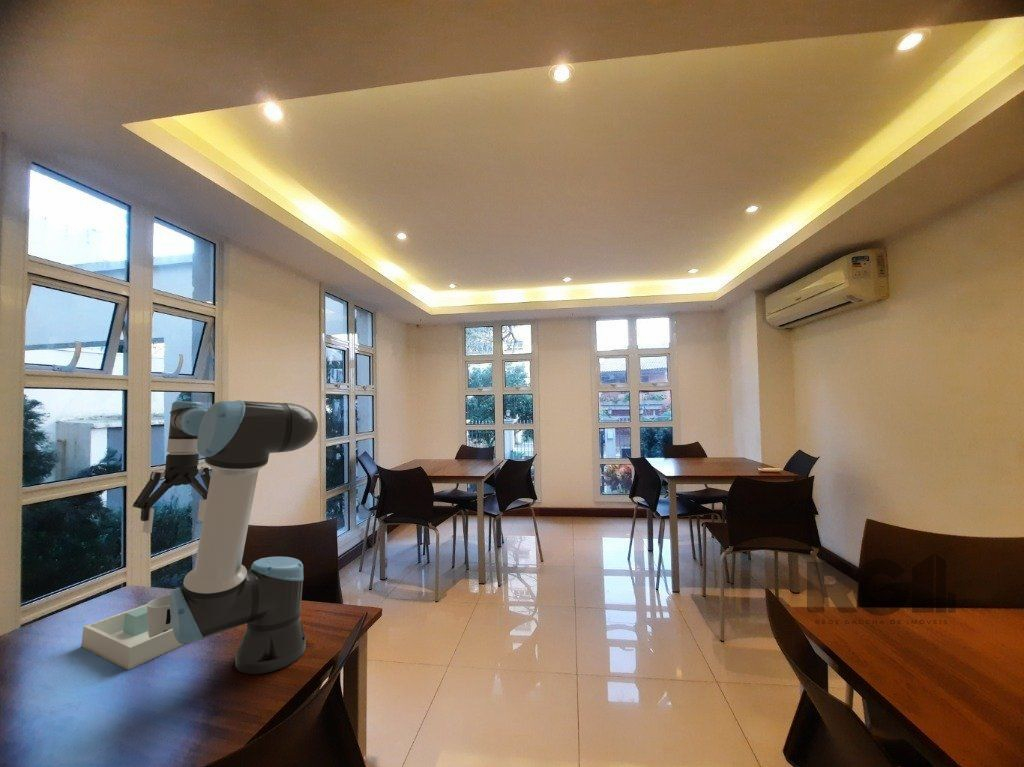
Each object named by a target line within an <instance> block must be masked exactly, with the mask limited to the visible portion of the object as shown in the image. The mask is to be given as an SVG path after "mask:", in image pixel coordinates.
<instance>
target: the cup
mask: <svg viewBox="0 0 1024 767" xmlns="http://www.w3.org/2000/svg"><path fill="white" fill-rule="evenodd" d="M170 594H171V593H169V594H165V595H162V596H158V597H156V598H153V599H151V600H150V601H148V603H147V627H148V635H149V638H151V637H153V636H156V635H158V634H161V633H163V632H166V631H168V630H170V629H173V628H172V622H171V615H170Z"/></svg>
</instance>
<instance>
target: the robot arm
mask: <svg viewBox="0 0 1024 767" xmlns="http://www.w3.org/2000/svg"><path fill="white" fill-rule="evenodd" d="M170 409H171V410H170V412H169V414H170V417H169V418H170V419H169V429H168V438H167V447H166V452H167V453H168V454H167V455H166V456H165V463H164V465H165V470H164V471H163V472H159V471H152V472H151V473H150V474H149V475H150V476H149V480H148V481H147V482H146V484H145V486H144V487H143V489H142V490H141V492H140V493H139V495H138V496H137V498H136V499H135V501H134V502H133V503H132V508H137V509H140V521H141V522H143V525H142V533H145V534H152V531H153V524H154V516H155V508H153V506H154V505H155V504H156V503H157V502H158V501H159V500H160V499H161V497H163V496H164V495H165V493H166V492H167V491H169V489H171V488H173V487H177V486H178V487H179V486H181V485H182V486H183V485H184V486H186V485H190V486H191V487H192V488H193V490H195V491H196V492H197V493H198V494H199V495H200V496H201V497H202V498H199V503H198V512H197V522H202V524H201V528H200V529H201V530H200V533H199V534H200V536H199V541H198V547H197V550H196V551H197V552H196V559H195V564H194V568H193V569H192V570H190V571H189V572H187V574H186V575H185V576H184V578H183V581H182V582H183V583H182V586H177V587H176V588H174V589H173V590H171V592H170V593H169V594H170V615H171V622H172V628H173V632H174V635H175V638H176V640H177V641H178V642H179V643H182V644H184V645H186V644H190V643H193V642H195V641H200V640H201V641H202V640H204V639H205V638H208V637H212V636H214V635H217V634H220V633H222V632H223V633H224V632H226V631H229V630H231V629H235V628H238V627H241V626H243V625H246V628H245V632H244V634H243V636H242V640H241V642H240V644H239V647H238V649H237V650H236V654H235V661H234V662H235V663H234V665H235V666H234V667H235V669H236V670H237V671H238V672H239V673H242V674H248V675H259V674H266V673H271V672H274V671H277V670H280V669H283V668H285V667H287V666H289V665H291V664H293V663H295V661H297V660H298V659H299V658H300V657H302V655H303V654H304V652H305V651H306V645H307V644H306V642H307V639H306V638H307V637H306V634H305V630H304V627H303V624H302V620H301V608H302V599H303V598H302V597H303V584H304V583H303V582H304V579H305V578H304V564H303V563H302V561H301V560H300V559H298V558H295V557H290V556H268V557H263V558H258V559H257V560H255V561H253V562H252V564H251V566H250V569H249V570H248V569H247V568H246V566H245V565H243V564H242V563H243V562H242V561H243V557H244V550H245V545H246V540H247V534H248V529H249V523H250V517H251V513H252V507H253V503H254V497H255V491H256V486H257V480H258V474H259V470H261V469H262V468H264V467H265V466H266V465H267V464H268V462H269V457H270V454H276V453H286V452H287V453H288V452H293V451H296V450H299V449H301V448H304V447H305V446H308V444H310V443H311V442H312V441H313V440H314V439H315V437H316V435H317V432H318V429H319V423H318V420H317V418H316V415H315V414H314V413H313V412H312V411H311V410H310V409H308V407H305V406H303V405H300V404H295V403H291V402H289V403H288V402H269V401H266V402H265V401H253V400H252V401H247V400H241V399H239V400H221V401H217V402H214V403H213V404H211V405H210V406H209V407H208V408H205V406H204V403H203V402H202V401H184V400H183V401H181V400H176V401H173V402H172V404H171V408H170ZM200 456H202V457H204V463H205V464H206V466H208V467H206V466H205V467H204V466H201V467H199V468H198V465H199V460H200ZM210 468H211V472H210ZM197 475H199V476H200V478H201V480H202V483H203V485H204V486H205V487H204V486H203V485H202V484H201V483H200V482H199V480H198V479H197V478H196V476H197ZM163 478H164V481H162V482H161V483H160V485H159V487H157V486H158V484H159V482H160V480H162V479H163ZM156 487H157V489H156ZM154 490H155V491H154Z"/></svg>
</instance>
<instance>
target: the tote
mask: <svg viewBox="0 0 1024 767" xmlns="http://www.w3.org/2000/svg"><path fill="white" fill-rule="evenodd" d="M147 604H148V603H147ZM147 604H143V605H140V606H138V607H134V608H132V609H129V610H127V611H124V612H121V613H118V614H115V615H111V616H109V617H106V618H104V619H101V620H98V621H95V622H91V623H89V624H86V625H83V627H82V636H81V637H82V638H81V645H80V646H81V648H82V649H84V650H87V651H88V652H91V653H92V654H95V655H97V656H99V657H101V658H103V659H105V660H106V661H109V662H111V663H113V664H115V665H117V666H118V667H121V668H122V669H125V670H126V671H129V670H131V669H133V668H136V667H138V666H140V665H143V664H145V663H147V662H149V661H151V660H153V659H155V658H157V657H158V658H159V657H160V656H162V655H165V654H166V653H168V652H172V651H173V650H176V649H178V648H180V647H182V646H184V645H185V644H182V643H179V642H178V641H177V640H176V638H175V635H174V632H173V629H170V630H168V631H166V632H163V633H161V634H158V635H156V636H153V637H151V638H149V635H148V631H146V632H144V633H142V634H139V635H137V636H131V635H129V634H126V633H124V632H123V630H124V620H125V613H127V612H129V611H132V610H135V609H138V608H140V607H143V606H146V605H147Z"/></svg>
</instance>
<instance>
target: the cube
mask: <svg viewBox="0 0 1024 767" xmlns="http://www.w3.org/2000/svg"><path fill="white" fill-rule="evenodd" d="M145 605H146V604H145ZM142 606H143V605H142ZM139 607H140V606H139ZM134 609H135V608H134ZM131 610H132V609H131ZM128 611H129V610H128ZM146 631H148V627H147V605H146V606H143V607H140V608H138V609H135V610H132V611H129V612H127V613H125V620H124V630H123V632H124V633H126V634H129V635H131V636H137V635H139V634H142V633H144V632H146Z"/></svg>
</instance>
